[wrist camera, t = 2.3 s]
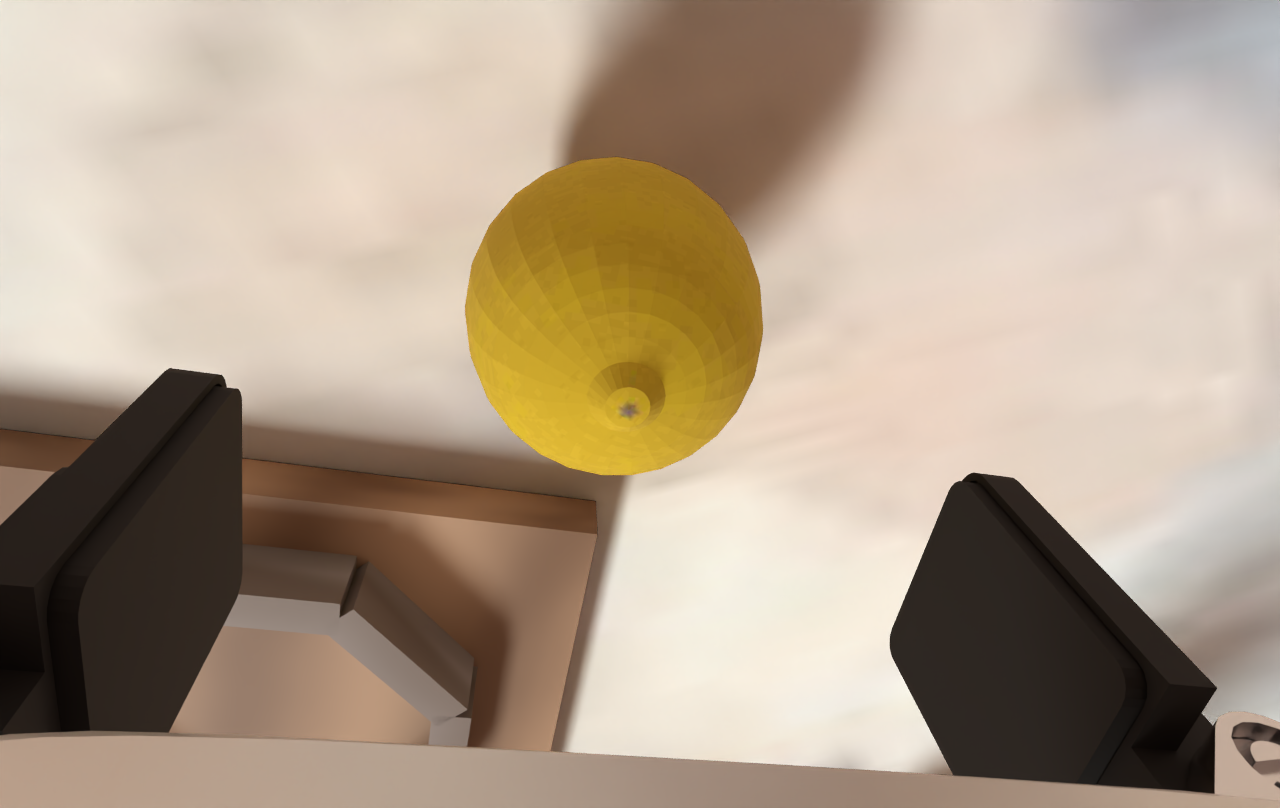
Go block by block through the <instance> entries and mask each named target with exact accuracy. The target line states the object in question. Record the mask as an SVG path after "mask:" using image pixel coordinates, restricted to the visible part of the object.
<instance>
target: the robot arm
mask: <svg viewBox="0 0 1280 808" xmlns="http://www.w3.org/2000/svg"><path fill="white" fill-rule="evenodd" d="M242 571H243V541H242V397H241V393H240V391H239V389H234V388H227V387H226V382H225V379H224V377H223V376H222V375H218V374H210V373H202V372H195V371H187V370H179V369H172V368H169V369H168V370H166V371H165V372H164V373H163V374H162V375H161V376H160V377H159V378H158V379H157V380H156V381H155V382H154V383H153V384H152V385H151V386H150V387H149V388H148V389H147V390H146V391H145V392H144V393H143V394H142V395H141V396H140V397H139V398H138V399H137V400H135V401H134V402H133V403H132V404H131V405H130V406H129V407H128V408H127V409H126V410H125V411H124V412H123V413H122V414H121V415H120V416H119V417H118V418H117V419H116V420H115V421H114V422H113V423H112V424H111V425H110V426H109V427H108V428H107V429H106V430H105V431H104V432H103V433H102V434H101V435H100V436H99V437H98V438H97V439H96V440H95V441H94V442H93V443H92V444H91V445H90V446H89V447H88V448H87V449H86V450H85V451H84V452H83V453H82V454H81V455H80V456H79V457H78V458H77V459H76V460H75V461H74V462H73V463H72V464H71V465H70V466H69V467H62V468H61V469H59V470H58V471H56V472H55V473H54V474H52V475H51V476H50V477H49V478H48V479H47V480H46V481H45V482H44V483H43V484H42V485H41V486H40V487H39V488H38V489H37V490H36V491H35V492H34V493H33V494H32V495H31V496H30V497H29V498H28V499H27V500H26V501H25V502H24V503H23V504H21V505H20V506H19V507H18V508H17V509H16V510H15V511H14V512H13V513H12V514H11V515H10V516H9V517H8V518H7V519H6V520H5V521H4V522H3V523H2V524H1V525H0V808H1280V722H1277V721H1275V720H1272V719H1270V718H1268V717H1265V716H1261V715H1257V714H1253V713H1248V712H1228V713H1225V714H1223V715H1221V716H1219V717H1218V719H1217V720H1216V722H1215V723H1214V725H1213V726H1212V724H1211V723H1210V722H1209V721H1208V720H1207V719H1206V718H1205V717H1204V716H1203V715H1202V711H1203V709H1204V708H1205V706H1206V705H1207V703H1208V702H1209V700H1210V699H1211V697H1212V696H1213V694H1214V692H1215V691H1216V689H1217V687H1216V686H1215V685H1214V684H1213V683H1212V682H1211V681H1210V680H1209V679H1208V678H1207V677H1206V676H1205V675H1204V674H1203V673H1202V672H1201V671H1200V670H1199V669H1198V668H1197V666H1196V665H1195V664H1194V663H1193V662H1192V661H1191V660H1190V659H1189V658H1188V657H1187V656H1186V655H1185V654H1184V653H1183V652H1182V651H1181V650H1180V649H1179V648H1178V647H1177V646H1176V645H1175V644H1174V643H1173V642H1172V641H1171V639H1170V638H1169V637H1168V636H1167V635H1166V634H1165V633H1164V632H1163V631H1162V630H1161V629H1160V628H1159V627H1158V626H1157V625H1156V624H1155V623H1154V622H1153V621H1152V620H1151V619H1150V618H1149V617H1148V616H1147V615H1146V614H1145V612H1144V611H1143V610H1142V609H1141V608H1140V607H1139V606H1138V605H1137V604H1136V603H1135V602H1134V601H1133V600H1132V599H1131V598H1130V597H1129V596H1128V595H1127V594H1126V593H1125V592H1124V591H1123V590H1122V589H1121V588H1120V587H1119V585H1118V584H1117V583H1116V582H1115V581H1114V580H1113V579H1112V578H1111V577H1110V576H1109V575H1108V574H1107V573H1106V572H1105V571H1104V570H1103V569H1102V568H1101V567H1100V566H1099V565H1098V564H1097V563H1096V562H1095V561H1094V559H1093V558H1092V557H1091V556H1090V555H1089V554H1088V553H1087V552H1086V551H1085V550H1084V549H1083V548H1082V547H1081V546H1080V545H1079V544H1078V543H1077V542H1076V541H1075V540H1074V539H1073V538H1072V537H1071V536H1070V535H1069V534H1068V532H1067V531H1066V530H1065V529H1064V528H1063V527H1062V526H1061V525H1060V524H1059V523H1058V522H1057V521H1056V520H1055V519H1054V518H1053V517H1052V516H1051V515H1050V514H1049V513H1048V512H1047V511H1046V510H1045V509H1044V508H1043V507H1042V505H1041V504H1040V503H1039V502H1038V501H1037V500H1036V499H1035V498H1034V497H1033V496H1032V495H1031V494H1030V493H1029V492H1028V491H1027V490H1026V489H1025V488H1024V487H1023V486H1022V485H1021V484H1020V483H1019V482H1018V481H1017V480H1015V479H1014V478H1010V477H1003V476H995V475H987V474H979V473H971V474H969V475H967V476H966V477H965V478H964V479H963V480H962V481H958V482H956V483H954V485H953V486H952V487H951V488H950V490H949V492H948V495H947V497H946V499H945V502H944V504H943V507H942V509H941V512H940V514H939V516H938V519H937V521H936V524H935V526H934V529H933V531H932V533H931V536H930V538H929V541H928V543H927V545H926V548H925V550H924V553H923V555H922V558H921V560H920V562H919V565H918V567H917V570H916V572H915V575H914V577H913V579H912V582H911V584H910V587H909V589H908V592H907V594H906V596H905V599H904V601H903V604H902V606H901V608H900V611H899V613H898V616H897V618H896V621H895V623H894V625H893V628H892V631H891V634H890V650H891V655H892V657H893V660H894V662H895V664H896V666H897V667H898V669H899V671H900V673H901V675H902V677H903V679H904V681H905V683H906V685H907V687H908V689H909V691H910V692H911V694H912V696H913V698H914V700H915V702H916V704H917V706H918V708H919V710H920V712H921V714H922V716H923V718H924V719H925V721H926V723H927V725H928V727H929V729H930V731H931V733H932V735H933V737H934V739H935V741H936V743H937V745H938V746H939V748H940V750H941V752H942V754H943V756H944V758H945V760H946V762H947V764H948V766H949V768H950V770H951V771H952V773H953V775H938V774H922V773H906V772H891V771H875V770H858V769H842V768H826V767H810V766H793V765H777V764H760V763H743V762H725V761H708V760H691V759H673V758H656V757H639V756H621V755H604V754H587V753H571V752H554V751H537V750H518V749H499V748H481V747H463V746H444V745H426V744H408V743H389V742H371V741H353V740H335V739H316V738H298V737H280V736H262V735H241V734H201V733H169V731H170V729H171V727H172V725H173V723H174V721H175V719H176V717H177V715H178V713H179V711H180V710H181V708H182V706H183V704H184V702H185V700H186V698H187V696H188V694H189V692H190V690H191V688H192V686H193V684H194V682H195V680H196V678H197V676H198V674H199V672H200V670H201V668H202V666H203V664H204V662H205V660H206V659H207V657H208V655H209V653H210V651H211V649H212V647H213V645H214V643H215V641H216V639H217V637H218V635H219V633H220V631H221V629H222V627H223V625H224V623H225V621H226V619H227V617H228V615H229V613H230V611H231V610H232V608H233V606H234V604H235V601H236V599H237V597H238V593H239V590H240V586H241V581H242Z"/></svg>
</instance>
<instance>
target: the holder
mask: <svg viewBox="0 0 1280 808" xmlns="http://www.w3.org/2000/svg"><path fill="white" fill-rule="evenodd" d="M94 441H95V440H86V439H78V438H70V437H62V436H53V435H45V434H37V433H29V432H20V431H12V430H4V429H0V525H1V524H2V523H3V522H4V521H5V520H6V519H7V518H8V517H9V516H10V515H11V514H12V513H13V512H14V511H15V510H16V509H17V508H18V507H19V506H20V505H21V504H23V503H24V502H25V501H26V500H27V499H28V498H29V497H30V496H31V495H32V494H33V493H34V492H35V491H36V490H37V489H38V488H39V487H40V486H41V485H42V484H43V483H44V482H45V481H46V480H47V479H48V478H49V477H50V476H51V475H52V474H54V473H55V472H56V471H58V470H59V469H61V468H62V467H69V466H70V465H71V464H72V463H73V462H74V461H75V460H76V459H77V458H78V457H79V456H80V455H81V454H82V453H83V452H84V451H85V450H86V449H87V448H88V447H89V446H90V445H91V444H92V443H93V442H94ZM596 539H597V517H596V501H590V500H581V499H573V498H565V497H557V496H548V495H540V494H532V493H524V492H515V491H507V490H499V489H491V488H482V487H474V486H466V485H458V484H449V483H441V482H433V481H425V480H416V479H408V478H400V477H392V476H383V475H375V474H367V473H359V472H350V471H342V470H334V469H326V468H317V467H309V466H301V465H293V464H284V463H276V462H268V461H260V460H251V459H243V458H242V541H243V571H242V581H241V586H240V590H239V593H238V597H237V599H236V601H235V604H234V606H233V608H232V610H231V611H230V613H229V615H228V617H227V619H226V621H225V623H224V625H223V627H222V629H221V631H220V633H219V635H218V637H217V639H216V641H215V643H214V645H213V647H212V649H211V651H210V653H209V655H208V657H207V659H206V660H205V662H204V664H203V666H202V668H201V670H200V672H199V674H198V676H197V678H196V680H195V682H194V684H193V686H192V688H191V690H190V692H189V694H188V696H187V698H186V700H185V702H184V704H183V706H182V708H181V710H180V711H179V713H178V715H177V717H176V719H175V721H174V723H173V725H172V727H171V729H170V731H169V733H201V734H241V735H262V736H280V737H298V738H316V739H335V740H353V741H371V742H389V743H408V744H426V745H444V746H463V747H481V748H499V749H518V750H537V751H551V747H552V742H553V737H554V733H555V728H556V723H557V719H558V714H559V710H560V705H561V700H562V696H563V691H564V687H565V682H566V677H567V673H568V668H569V664H570V659H571V654H572V650H573V645H574V640H575V636H576V631H577V627H578V622H579V617H580V613H581V608H582V604H583V599H584V594H585V590H586V585H587V581H588V576H589V571H590V567H591V562H592V558H593V553H594V548H595V544H596Z"/></svg>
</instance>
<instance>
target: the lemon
mask: <svg viewBox="0 0 1280 808" xmlns="http://www.w3.org/2000/svg"><path fill="white" fill-rule="evenodd" d="M465 315H466V323H467V332H468V340H469V349H470V354H471V358H472V361H473V363H474V366H475V368H476V371H477V373H478V376H479V378H480V381H481V383H482V386H483V388H484V391H485V393H486V396H487V398H488V399H489V401H490V403H491V404H492V406H493V407H494V408H495V410H496V411H497V412H498V414H499V415H500V416H501V418H502V419H503V420H504V422H505V423H506V424H507V426H508V427H509V428H510V430H511V431H512V432H514V433H515V434H516V435H517V436H518V437H519V438H521V439H522V440H523V441H524V442H526V443H527V444H528V445H529V446H531V447H532V448H533V449H534V450H536V451H537V452H538V453H539V454H541V455H543V456H545V457H547V458H550V459H552V460H554V461H556V462H558V463H560V464H562V465H564V466H566V467H568V468H573V469H577V470H581V471H586V472H590V473H595V474H599V475H634V474H639V473H644V472H648V471H653V470H658V469H662V468H664V467H666V466H668V465H671V464H673V463H675V462H677V461H680V460H682V459H684V458H686V457H688V456H690V455H692V454H693V453H695V452H696V451H697V450H698V449H700V448H701V447H702V446H704V445H705V444H706V443H708V442H709V441H710V440H712V439H713V438H714V437H716V436H717V435H718V434H719V432H720V431H721V430H722V429H723V428H724V426H725V425H726V424H727V423H728V422H729V420H730V419H731V418H732V417H733V416H734V414H735V413H736V412H737V410H738V409H739V407H740V405H741V403H742V401H743V399H744V397H745V395H746V393H747V391H748V389H749V386H750V384H751V382H752V380H753V378H754V376H755V372H756V367H757V362H758V357H759V352H760V346H761V341H762V335H763V321H762V307H761V293H760V284H759V280H758V277H757V274H756V271H755V268H754V265H753V263H752V260H751V257H750V254H749V251H748V248H747V245H746V243H745V241H744V239H743V237H742V236H741V235H740V233H739V232H738V230H737V229H736V227H735V226H734V225H733V223H732V222H731V220H730V219H729V218H728V216H727V215H726V213H725V212H724V211H723V209H722V208H721V207H720V205H719V204H718V203H717V202H715V201H714V200H713V199H712V198H710V197H709V196H708V195H707V194H706V193H704V192H703V191H702V190H701V189H700V188H698V187H697V186H696V185H695V184H693V183H692V182H691V181H690V180H688V179H687V178H685V177H683V176H680V175H678V174H676V173H674V172H672V171H670V170H667V169H665V168H663V167H661V166H659V165H657V164H654V163H650V162H644V161H638V160H632V159H626V158H620V157H610V158H599V159H588V160H580V161H577V162H574V163H572V164H569V165H566V166H563V167H561V168H558V169H555V170H552V171H549V172H547V173H545V174H544V175H542V176H541V177H539V178H538V179H537V180H535V181H534V182H532V183H531V184H529V185H528V186H527V187H525V188H524V189H522V190H521V191H519V192H518V193H516V194H515V195H514V197H513V198H512V199H511V200H510V201H509V203H508V204H507V205H506V206H505V207H504V209H503V210H502V211H501V212H500V213H499V215H498V216H497V217H496V218H495V219H494V220H493V222H492V223H491V224H490V226H489V228H488V230H487V232H486V234H485V236H484V238H483V241H482V243H481V245H480V247H479V249H478V251H477V253H476V256H475V258H474V260H473V263H472V266H471V273H470V279H469V285H468V291H467V297H466V304H465Z"/></svg>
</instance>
